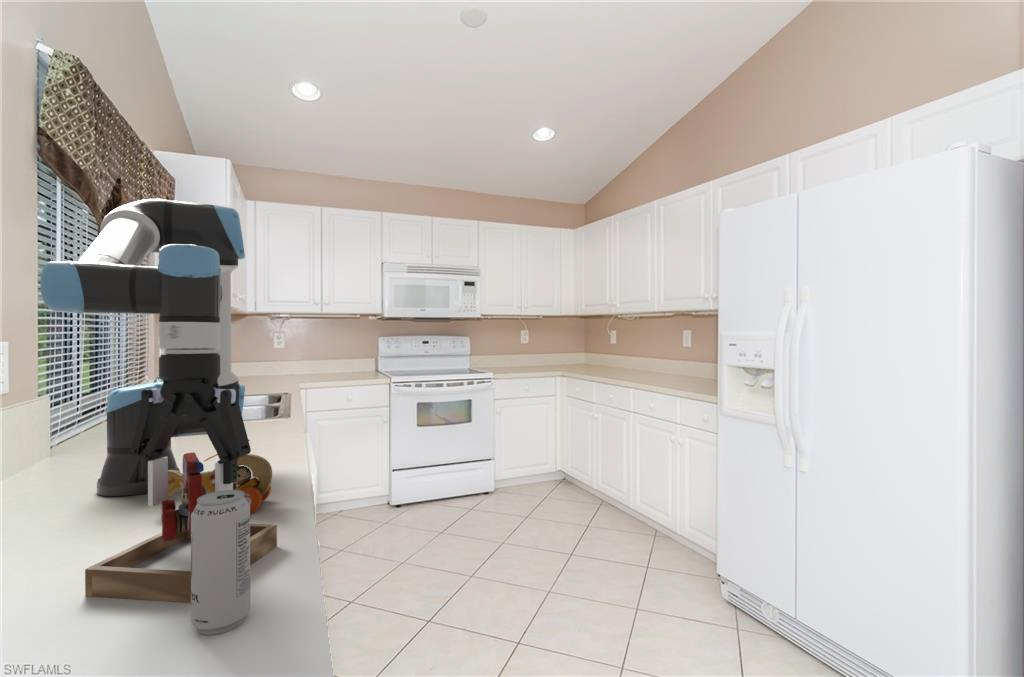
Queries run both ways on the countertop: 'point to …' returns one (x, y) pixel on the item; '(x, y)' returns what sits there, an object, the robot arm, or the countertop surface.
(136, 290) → the robot arm
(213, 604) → the energy drink can
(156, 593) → the brown wooden tray
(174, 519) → the toy fire truck
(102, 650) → the countertop surface
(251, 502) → the toy helicopter
